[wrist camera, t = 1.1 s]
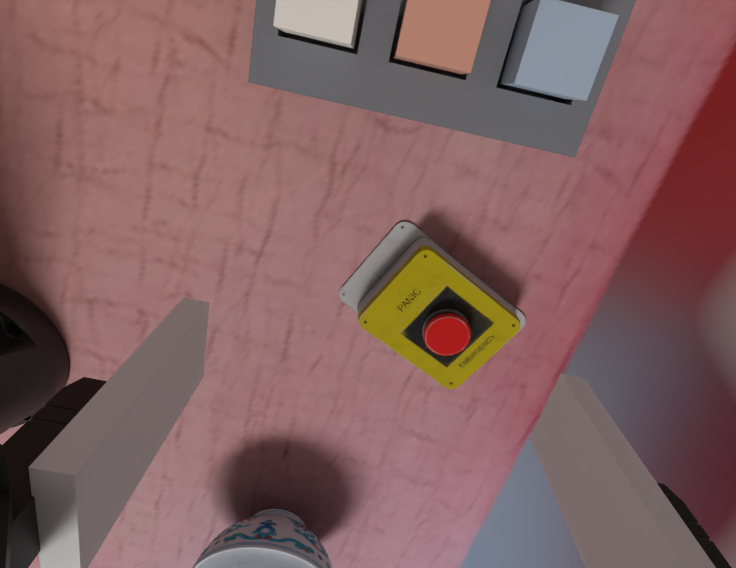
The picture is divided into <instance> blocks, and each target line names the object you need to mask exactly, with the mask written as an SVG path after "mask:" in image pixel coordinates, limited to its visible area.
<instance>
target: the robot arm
mask: <svg viewBox="0 0 736 568" xmlns="http://www.w3.org/2000/svg"><path fill="white" fill-rule="evenodd" d="M208 312H209V303H208V302H203V301H198V300H193V299H188V298H183V299H182V300H181V301H180V303H179V304H178V305H177V306H176V307H175V308H174V309H173V310H172V311H171V312H170V313H169V315H168V316H167V317H166V318H165V319H164V320H163V321H162V322H161V323H160V324H159V325H158V327H157V328H156V329H155V330H154V331H153V332H152V333H151V334H150V335H149V336H148V337H147V339H146V340H145V341H144V342H143V343H142V344H141V345H140V346H139V347H138V348H137V349H136V351H135V352H134V353H133V354H132V355H131V356H130V357H129V358H128V359H127V360H126V361H125V363H124V364H123V365H122V366H121V367H120V368H119V369H118V370H117V371H116V372H115V373H114V375H113V376H112V377H111V378H110V379H109V380H108V381H102V380H96V379H91V378H86V377H83V378H81V379H79V380H78V381H76V382H74V383H72V384H70V385H68V386H66V387H65V385H66V383H67V379H68V374H69V362H68V356H67V352H66V349H65V346H64V343H63V341H62V339H61V337H60V335H59V334H58V332H57V330H56V329H55V327H54V326H53V325H52V323H51V322H50V321H49V320H48V319H47V317H46V316H45V315H44V314H43V313H42V312H41V311H40V310H39V309H38V308H36V307H35V306H34V305H33V304H32V303H30V302H29V301H28V300H26V299H25V298H23V297H22V296H20V295H19V294H17V293H16V292H14V291H12V290H10V289H8V288H6V287H4V286H2V285H0V434H2V433H3V432H5V431H6V430H8V429H9V428H11V427H15V426H18V425H21V424H24V423H25V424H24V425H23V426H22V427H21V428H20V429H19V430H18V431H17V432H16V433H15V434H14V435H13V436H12V437H10V438H9V439H8V440H7V441H6V442H5V443H4V444H3V445H1V444H0V568H28V567H29V566H30V564H31V563H32V561H33V560H34V559H35V557H36V556H37V555H38V553H39V561H40V568H88V566H89V565H90V563H91V561H92V560H93V558H94V556H95V555H96V553H97V551H98V550H99V548H100V546H101V545H102V543H103V541H104V540H105V538H106V536H107V535H108V533H109V531H110V530H111V528H112V526H113V525H114V523H115V521H116V520H117V518H118V517H119V515H120V513H121V512H122V510H123V508H124V507H125V505H126V503H127V502H128V500H129V498H130V497H131V495H132V493H133V492H134V490H135V488H136V487H137V485H138V483H139V482H140V480H141V478H142V477H143V475H144V473H145V472H146V470H147V468H148V467H149V465H150V464H151V462H152V460H153V459H154V457H155V455H156V454H157V452H158V450H159V449H160V447H161V445H162V444H163V442H164V440H165V439H166V437H167V435H168V434H169V432H170V430H171V429H172V427H173V425H174V424H175V422H176V420H177V419H178V417H179V415H180V414H181V412H182V410H183V409H184V407H185V406H186V404H187V402H188V401H189V399H190V397H191V396H192V394H193V392H194V391H195V389H196V387H197V386H198V384H199V382H200V381H201V379H202V377H203V372H204V360H205V348H206V336H207V324H208ZM530 439H531V442H532V444H533V446H534V449H535V451H536V453H537V456H538V458H539V460H540V463H541V465H542V467H543V470H544V472H545V474H546V477H547V479H548V481H549V484H550V486H551V488H552V491H553V493H554V495H555V497H556V500H557V502H558V505H559V507H560V509H561V512H562V514H563V516H564V519H565V521H566V523H567V526H568V528H569V530H570V533H571V535H572V537H573V539H574V542H575V544H576V547H577V549H578V551H579V554H580V556H581V558H582V561H583V563H584V565H585V568H731V566H730V565H729V564H728V562H727V561H726V560H725V558H724V557H723V555H722V554H721V553H720V551H719V550H718V549H717V547H716V546H715V544H714V543H713V542H712V541H710V540H709V536H708V535H707V533H706V532H705V531H704V529H703V528H702V527H701V525H698V523H697V522H698V521H697V520H696V518H695V517H694V516H693V514H692V513H691V512H690V510H689V509H688V507H687V506H686V505H685V503H684V502H683V501H682V500H681V499H680V498H679V497H677V496H676V495H675V494H674V493H673V492H672V491H671V490H670V489H669V488H668V487H666V485H664V484H660V483H656V481H655V480H654V479H653V477H652V476H651V474H650V473H649V471H648V470H647V468H646V467H645V466H644V464H643V463H642V461H641V460H640V458H639V457H638V456H637V454H636V453H635V451H634V450H633V448H632V447H631V446H630V444H629V443H628V441H627V440H626V438H625V437H624V436H623V434H622V433H621V431H620V430H619V429H618V427H617V426H616V424H615V423H614V421H613V420H612V418H611V417H610V415H609V414H608V413H607V411H606V410H605V408H604V407H603V405H602V404H601V403H600V401H599V400H598V398H597V397H596V395H595V394H594V392H593V391H592V390H591V388H590V387H589V385H588V384H587V383H586V381H585V380H584V378H581V377H576V376H571V375H566V374H560V376H559V378H558V380H557V383H556V385H555V387H554V389H553V391H552V393H551V395H550V398H549V400H548V402H547V404H546V406H545V408H544V410H543V412H542V415H541V417H540V419H539V421H538V423H537V425H536V427H535V429H534V432H533V434H532V436H531V438H530Z"/></svg>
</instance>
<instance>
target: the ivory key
mask: <svg viewBox="0 0 736 568" xmlns="http://www.w3.org/2000/svg"><path fill="white" fill-rule="evenodd" d="M362 2H363V0H276V6H275V15H274V24H273V26H274V27H276V28H278V29H280V30H282V31H283V32H285V33H289V34H294V35H298V36H302V37H306V38H310V39H315V40H319V41H323V42H327V43H331V44H336V45H340V46H344V47H348V48H352V49H354V46H355V41H356V35H357V30H358V24H359V18H360V13H361V7H362Z"/></svg>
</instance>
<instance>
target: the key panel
mask: <svg viewBox="0 0 736 568" xmlns="http://www.w3.org/2000/svg"><path fill="white" fill-rule="evenodd" d="M532 1H533V0H491V2H490V5H489V9H488V12H487V16H486V20H485V23H484V27H483V30H482V34H481V38H480V41H479V45H478V48H477V52H476V56H475V59H474V63H473V66H472V70H471V73H467V74H457V73H453V72H449V71H444V70H440V69H436V68H432V67H428V66H424V65H419V64H415V63H411V62H407V61H403V60H398V59H394V56H395V51H396V47H397V42H398V37H399V33H400V28H401V23H402V19H403V14H404V9H405V4H406V0H363V2H362V7H361V13H360V18H359V24H358V30H357V35H356V41H355V46H354V49H352V48H348V47H344V46H340V45H336V44H331V43H327V42H323V41H319V40H315V39H310V38H306V37H302V36H298V35H294V34H289V33H285V32H283V31H282V30H280V29H278V28H276V27H274V26H273V24H274V15H275V6H276V0H256V9H255V19H254V29H253V40H252V50H251V60H250V70H249V81H248V82H250V83H254V84H258V85H263V86H267V87H271V88H276V89H280V90H284V91H289V92H293V93H297V94H302V95H306V96H310V97H315V98H319V99H323V100H328V101H332V102H336V103H341V104H345V105H349V106H354V107H358V108H362V109H367V110H371V111H375V112H380V113H384V114H388V115H393V116H397V117H401V118H406V119H410V120H414V121H419V122H423V123H427V124H432V125H436V126H440V127H445V128H449V129H453V130H458V131H462V132H466V133H471V134H475V135H480V136H484V137H488V138H493V139H497V140H501V141H506V142H510V143H514V144H519V145H523V146H527V147H532V148H536V149H540V150H545V151H549V152H553V153H558V154H562V155H566V156H571V157H575V156H576V153H577V150H578V148H579V145H580V143H581V140H582V138H583V135H584V132H585V130H586V127H587V125H588V122H589V120H590V117H591V114H592V112H593V109H594V107H595V104H596V102H597V99H598V96H599V94H600V91H601V89H602V86H603V84H604V81H605V79H606V76H607V73H608V71H609V68H610V66H611V63H612V61H613V58H614V55H615V53H616V50H617V48H618V45H619V43H620V40H621V37H622V35H623V32H624V30H625V27H626V25H627V22H628V20H629V17H630V14H631V12H632V9H633V7H634V4H635V2H636V0H560V1H564V2H568V3H572V4H576V5H580V6H584V7H588V8H592V9H596V10H600V11H604V12H608V13H612V14H616V15H619V17H618V20H617V22H616V25H615V27H614V30H613V33H612V35H611V38H610V41H609V43H608V46H607V48H606V51H605V54H604V56H603V59H602V62H601V64H600V67H599V69H598V72H597V75H596V77H595V80H594V83H593V85H592V88H591V90H590V93H589V96H588V98H587V101H583V100H570V99H562V98H558V97H553V96H549V95H545V94H541V93H537V92H532V91H528V90H524V89H520V88H516V87H512V86H507V85H503V84H499V83H500V80H501V77H502V74H503V70H504V67H505V64H506V60H507V57H508V54H509V51H510V47H511V44H512V41H513V37H514V34H515V31H516V28H517V24H518V21H519V18H520V14H521V11H522V8H523V6H524V5H526V4H528V3H530V2H532Z"/></svg>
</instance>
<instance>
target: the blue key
mask: <svg viewBox="0 0 736 568" xmlns="http://www.w3.org/2000/svg"><path fill="white" fill-rule="evenodd" d="M618 17H619V15H616V14H612V13H608V12H604V11H600V10H596V9H592V8H588V7H584V6H580V5H576V4H572V3H568V2H564V1H560V0H533V1H532V2H530V3H528V4H526V5H524V6H523V8H522V11H521V14H520V18H519V21H518V24H517V28H516V31H515V34H514V37H513V41H512V44H511V47H510V51H509V54H508V57H507V60H506V64H505V67H504V70H503V74H502V77H501V80H500V83H499V84H503V85H507V86H512V87H516V88H520V89H524V90H528V91H532V92H537V93H541V94H545V95H549V96H553V97H558V98H562V99H570V100H583V101H587V98H588V96H589V93H590V90H591V88H592V85H593V83H594V80H595V77H596V75H597V72H598V69H599V67H600V64H601V62H602V59H603V56H604V54H605V51H606V48H607V46H608V43H609V41H610V38H611V35H612V33H613V30H614V27H615V25H616V22H617V20H618Z"/></svg>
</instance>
